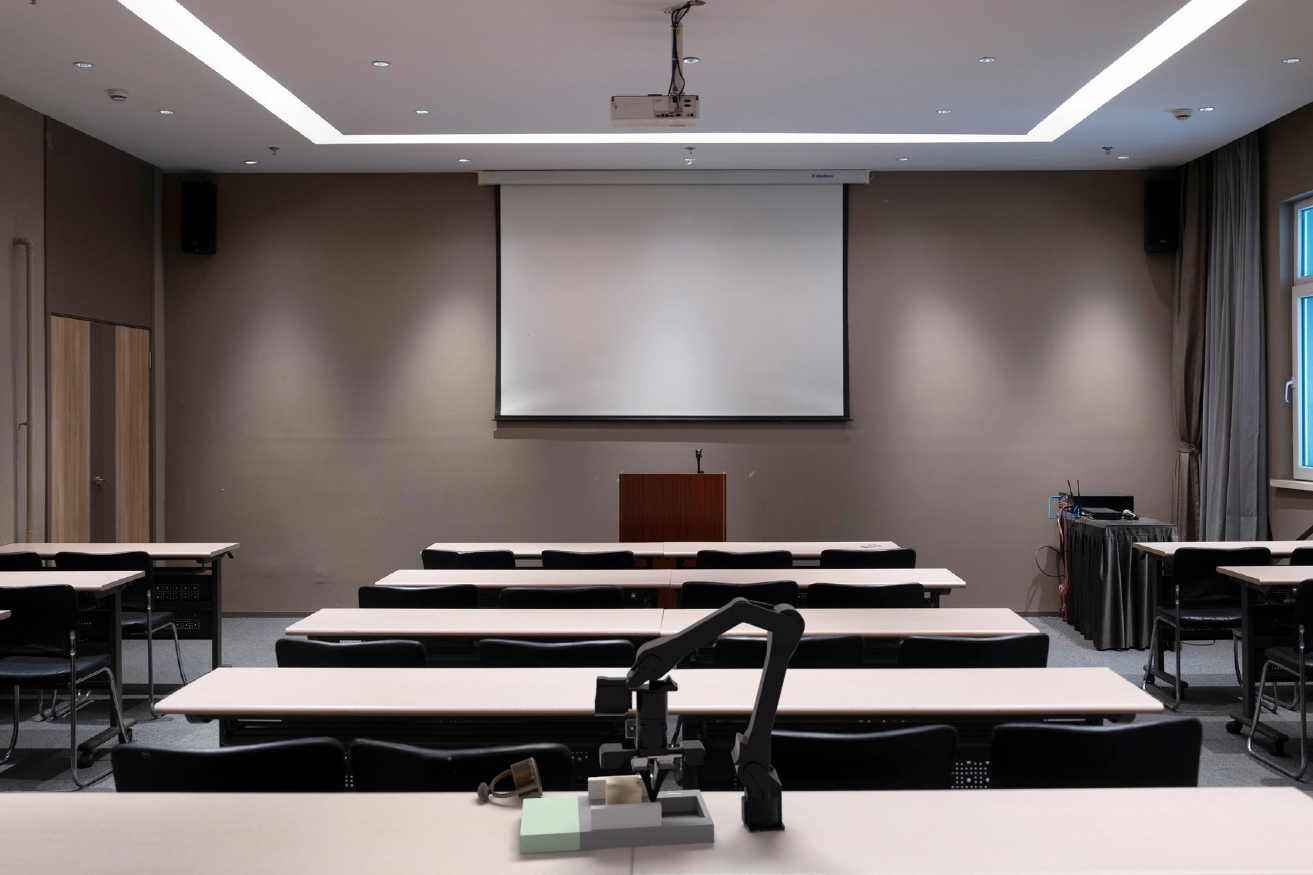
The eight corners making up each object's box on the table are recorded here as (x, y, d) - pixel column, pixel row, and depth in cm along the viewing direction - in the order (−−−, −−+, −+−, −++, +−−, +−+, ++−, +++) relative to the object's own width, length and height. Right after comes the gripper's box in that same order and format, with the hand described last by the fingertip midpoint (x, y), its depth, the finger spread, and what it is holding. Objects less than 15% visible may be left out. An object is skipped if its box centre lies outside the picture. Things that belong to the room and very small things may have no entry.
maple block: (638, 803, 163) (638, 775, 163) (641, 816, 157) (641, 787, 157) (605, 804, 162) (605, 777, 162) (607, 818, 156) (607, 789, 156)
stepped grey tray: (699, 805, 169) (699, 770, 169) (714, 841, 153) (713, 803, 153) (523, 815, 165) (523, 779, 165) (519, 853, 149) (519, 814, 150)
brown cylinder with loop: (537, 780, 169) (551, 751, 178) (472, 771, 170) (490, 743, 180) (536, 813, 170) (550, 783, 180) (472, 804, 172) (489, 775, 182)
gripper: (696, 700, 169) (696, 783, 169) (598, 704, 167) (598, 787, 167) (706, 717, 158) (706, 806, 158) (600, 721, 156) (601, 811, 156)
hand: (652, 802), depth 160 cm, fingers closed
